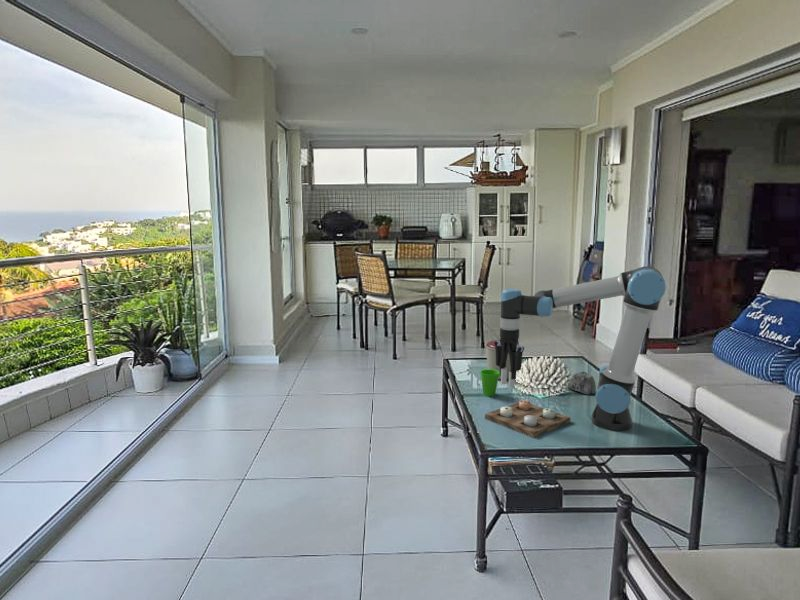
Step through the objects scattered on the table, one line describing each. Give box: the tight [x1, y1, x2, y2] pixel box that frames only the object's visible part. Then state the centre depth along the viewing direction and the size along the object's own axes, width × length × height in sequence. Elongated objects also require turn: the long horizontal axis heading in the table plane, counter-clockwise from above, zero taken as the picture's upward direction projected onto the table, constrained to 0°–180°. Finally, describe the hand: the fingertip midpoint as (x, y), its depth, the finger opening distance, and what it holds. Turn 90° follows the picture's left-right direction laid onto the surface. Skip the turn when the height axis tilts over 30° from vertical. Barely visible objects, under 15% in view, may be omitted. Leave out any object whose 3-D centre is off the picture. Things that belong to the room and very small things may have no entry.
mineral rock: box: [567, 370, 597, 396], centre depth 255 cm, size 13×11×10 cm
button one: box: [499, 406, 512, 419], centre depth 220 cm, size 5×5×3 cm
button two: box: [543, 407, 556, 421], centre depth 219 cm, size 5×5×3 cm
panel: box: [484, 401, 571, 438], centre depth 220 cm, size 24×24×2 cm
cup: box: [479, 368, 500, 397], centre depth 249 cm, size 9×9×11 cm
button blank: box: [524, 415, 537, 428], centre depth 211 cm, size 5×5×3 cm
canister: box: [484, 336, 522, 380], centre depth 275 cm, size 18×18×21 cm
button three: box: [518, 399, 532, 412], centre depth 228 cm, size 5×5×3 cm
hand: (507, 385), depth 218 cm, fingers open, 3 cm apart
